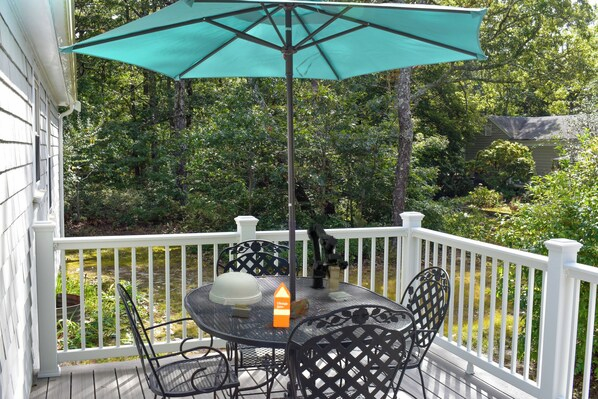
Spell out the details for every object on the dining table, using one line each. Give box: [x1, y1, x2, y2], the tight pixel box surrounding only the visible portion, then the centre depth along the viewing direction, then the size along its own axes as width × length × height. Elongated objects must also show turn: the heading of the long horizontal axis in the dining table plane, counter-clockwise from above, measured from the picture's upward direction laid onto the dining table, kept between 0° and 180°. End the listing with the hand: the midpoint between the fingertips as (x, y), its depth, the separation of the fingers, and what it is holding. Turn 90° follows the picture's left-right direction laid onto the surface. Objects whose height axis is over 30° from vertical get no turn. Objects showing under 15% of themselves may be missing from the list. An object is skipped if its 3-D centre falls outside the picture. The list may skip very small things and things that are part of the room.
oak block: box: [326, 266, 341, 292], centre depth 319 cm, size 5×5×13 cm
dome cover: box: [208, 271, 263, 306], centre depth 319 cm, size 32×30×14 cm
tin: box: [289, 298, 310, 319], centre depth 290 cm, size 15×3×8 cm, turn 143°
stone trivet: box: [328, 290, 353, 299], centre depth 326 cm, size 10×10×3 cm
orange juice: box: [273, 282, 291, 328], centre depth 275 cm, size 8×9×20 cm
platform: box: [231, 303, 252, 318], centre depth 286 cm, size 12×18×7 cm, turn 77°
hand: (334, 278), depth 318 cm, fingers closed on oak block, 5 cm apart
